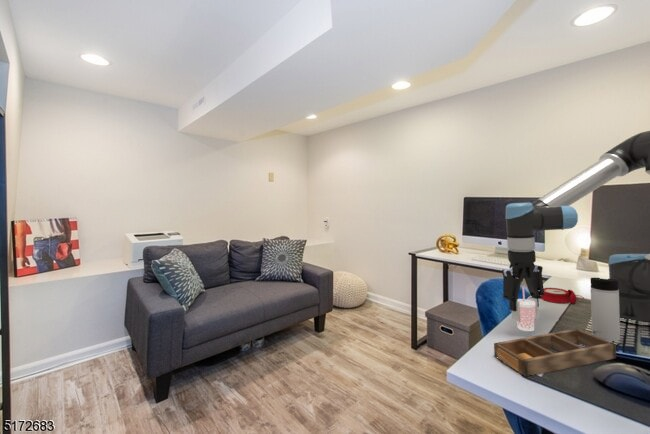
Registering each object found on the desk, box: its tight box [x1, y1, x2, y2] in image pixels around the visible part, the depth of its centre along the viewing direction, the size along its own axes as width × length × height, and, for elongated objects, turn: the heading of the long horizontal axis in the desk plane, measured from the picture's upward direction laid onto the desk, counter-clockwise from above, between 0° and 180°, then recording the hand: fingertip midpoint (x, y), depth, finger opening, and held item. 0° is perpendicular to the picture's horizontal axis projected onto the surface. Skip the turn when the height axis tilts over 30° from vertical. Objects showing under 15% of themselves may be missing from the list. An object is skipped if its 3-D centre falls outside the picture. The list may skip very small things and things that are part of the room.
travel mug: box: [590, 277, 621, 341], centre depth 89 cm, size 6×7×20 cm
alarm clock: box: [540, 287, 585, 305], centre depth 125 cm, size 10×6×15 cm
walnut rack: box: [493, 328, 617, 377], centre depth 83 cm, size 30×10×4 cm, turn 101°
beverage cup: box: [516, 286, 536, 332], centre depth 96 cm, size 6×6×14 cm
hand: (525, 318), depth 97 cm, fingers closed on beverage cup, 6 cm apart
